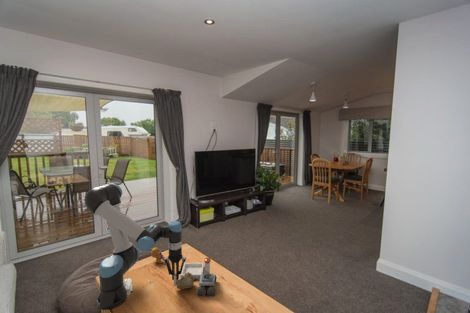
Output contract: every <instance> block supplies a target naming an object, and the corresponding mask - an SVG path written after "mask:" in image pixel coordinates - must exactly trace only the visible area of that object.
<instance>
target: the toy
mask: <svg viewBox="0 0 470 313" xmlns="http://www.w3.org/2000/svg"><path fill="white" fill-rule="evenodd" d="M150 256H151V257H152V258H155V260H156V261H155V262H156V264H162V261H163V262H165V261H164V260H165V258H166V257H165V255H163V253H162V249H159V247H152V248H151V251H150Z"/></svg>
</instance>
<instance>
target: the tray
mask: <svg viewBox="0 0 470 313" xmlns="http://www.w3.org/2000/svg"><path fill="white" fill-rule="evenodd" d="M204 271H205V262H184V265H183V269H182V273H181V274H179V279H182V278H183V277H184V275H185V274H186V273H188V272H189V273H191V274H192V277H193V280H199V277H200V275H201V274H204Z"/></svg>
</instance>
